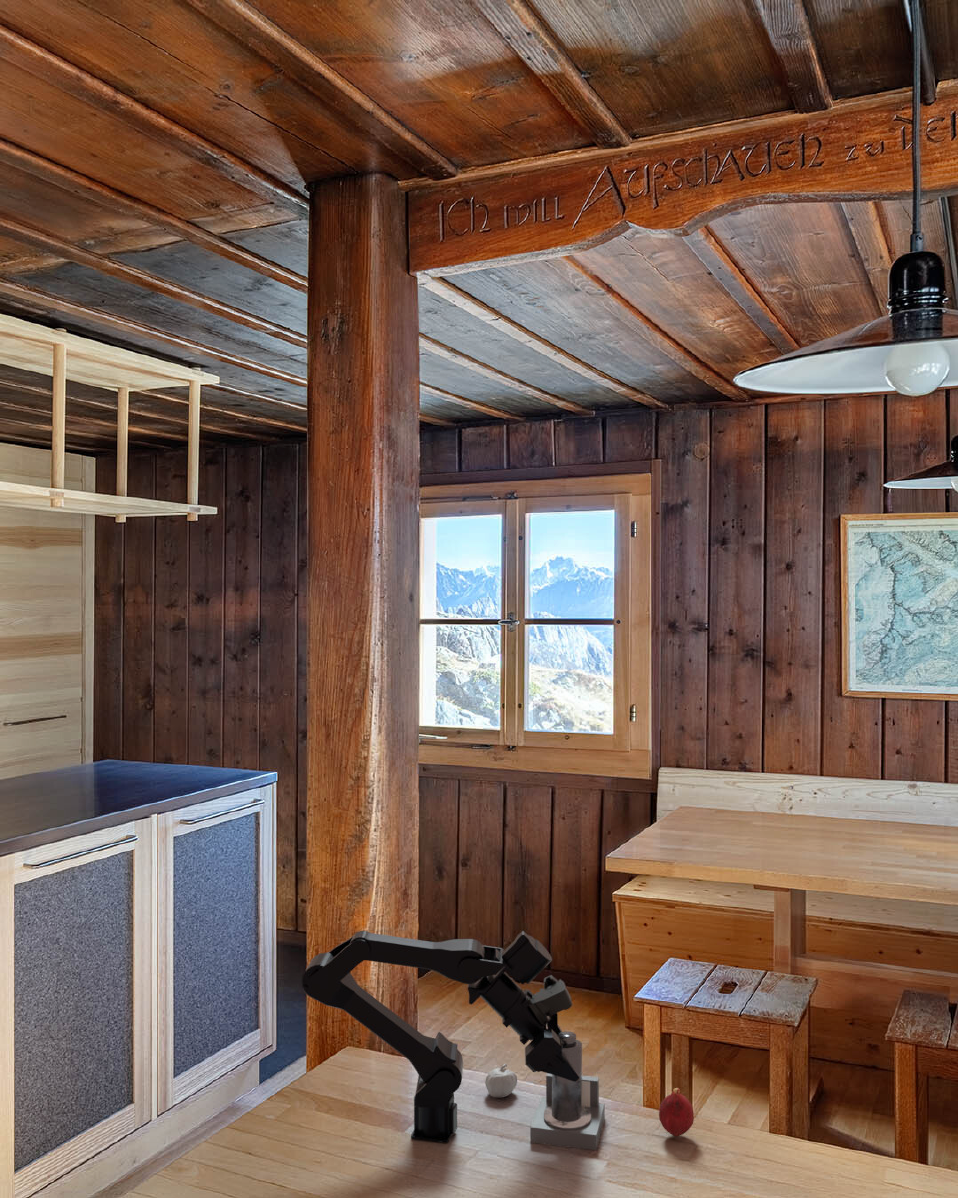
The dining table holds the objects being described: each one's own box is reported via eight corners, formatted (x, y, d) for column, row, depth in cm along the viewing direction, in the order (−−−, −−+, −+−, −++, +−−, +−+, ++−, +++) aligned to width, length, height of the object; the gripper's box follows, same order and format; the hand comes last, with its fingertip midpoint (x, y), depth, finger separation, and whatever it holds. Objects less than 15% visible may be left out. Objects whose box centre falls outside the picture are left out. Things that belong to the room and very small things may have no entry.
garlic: (507, 1084, 196) (507, 1056, 196) (522, 1096, 192) (522, 1068, 192) (479, 1092, 193) (479, 1064, 193) (494, 1104, 189) (494, 1075, 189)
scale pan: (539, 1127, 176) (539, 1123, 176) (548, 1104, 183) (548, 1101, 183) (587, 1132, 174) (587, 1129, 174) (594, 1109, 181) (594, 1106, 181)
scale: (530, 1142, 176) (530, 1100, 175) (542, 1111, 186) (542, 1071, 186) (596, 1150, 173) (596, 1107, 173) (604, 1118, 184) (604, 1078, 184)
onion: (693, 1147, 174) (693, 1098, 174) (658, 1144, 175) (658, 1095, 175) (693, 1129, 179) (693, 1082, 179) (659, 1126, 181) (659, 1079, 181)
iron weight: (554, 1122, 176) (555, 1042, 176) (549, 1107, 181) (550, 1029, 181) (583, 1121, 176) (584, 1041, 176) (578, 1106, 181) (579, 1028, 181)
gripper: (546, 988, 169) (615, 1057, 169) (541, 949, 188) (603, 1011, 188) (497, 1037, 169) (566, 1106, 169) (497, 993, 188) (559, 1056, 188)
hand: (575, 1067), depth 178 cm, fingers open, 9 cm apart
